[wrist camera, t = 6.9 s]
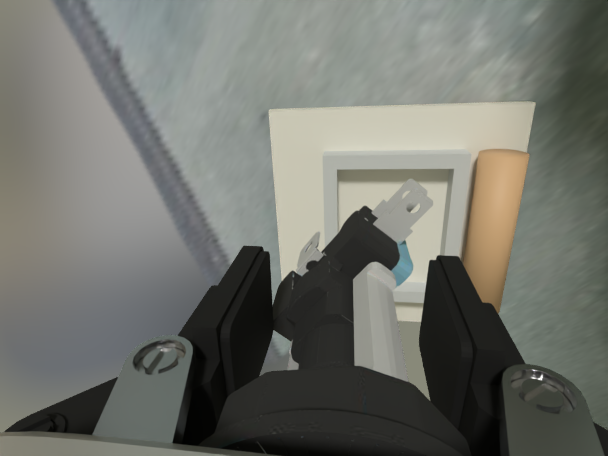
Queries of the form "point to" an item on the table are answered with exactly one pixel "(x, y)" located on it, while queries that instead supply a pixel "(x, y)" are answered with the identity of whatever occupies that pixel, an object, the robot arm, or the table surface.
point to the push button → (343, 353)
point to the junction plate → (396, 171)
